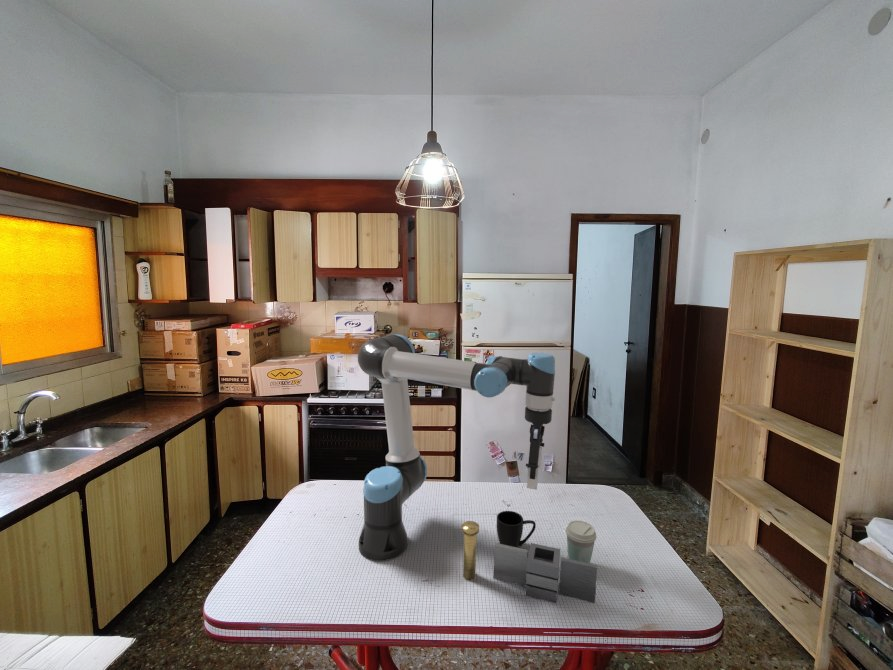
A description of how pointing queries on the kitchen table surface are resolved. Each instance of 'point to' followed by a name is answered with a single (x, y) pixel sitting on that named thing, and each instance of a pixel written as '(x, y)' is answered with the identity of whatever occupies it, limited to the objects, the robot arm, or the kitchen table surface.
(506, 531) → the mug
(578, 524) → the coffee cup
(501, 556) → the grey piece
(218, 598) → the kitchen table surface
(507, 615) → the kitchen table surface
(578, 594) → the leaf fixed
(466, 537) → the pin
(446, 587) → the kitchen table surface
